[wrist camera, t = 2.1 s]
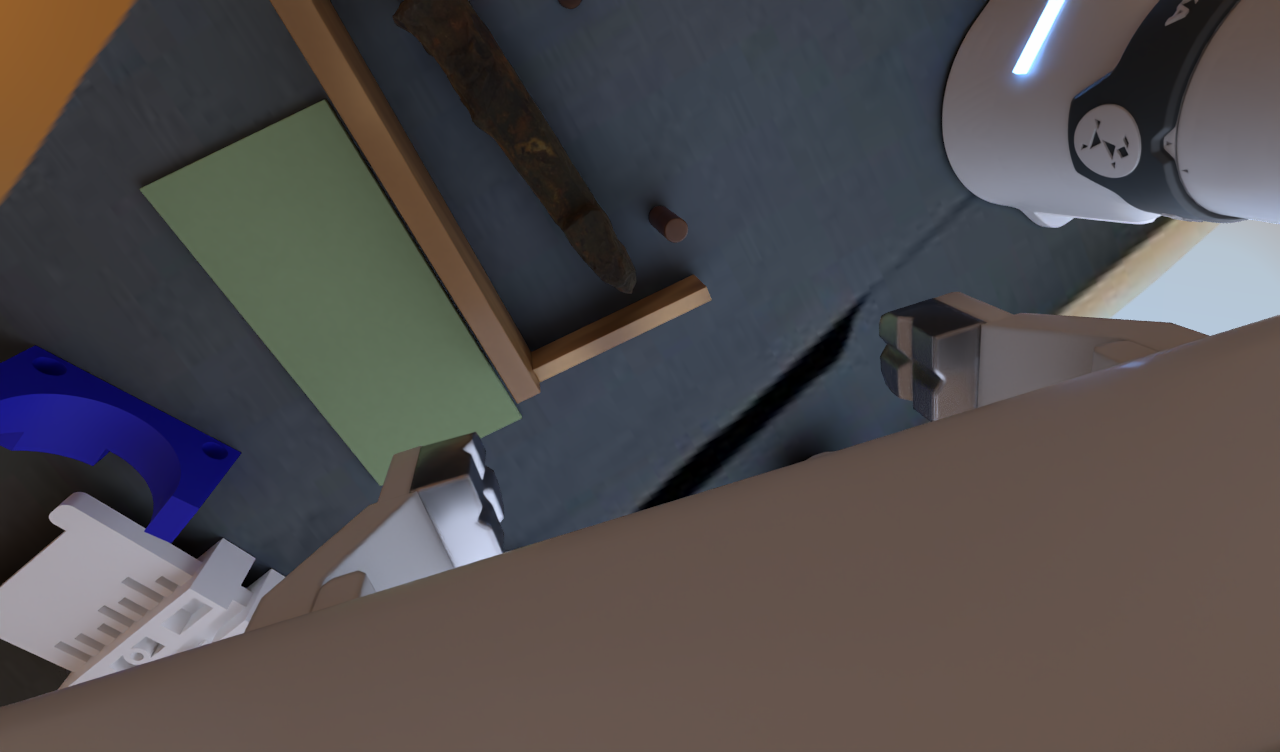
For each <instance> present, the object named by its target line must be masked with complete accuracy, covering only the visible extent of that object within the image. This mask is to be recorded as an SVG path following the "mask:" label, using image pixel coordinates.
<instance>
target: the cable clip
mask: <svg viewBox="0 0 1280 752" xmlns="http://www.w3.org/2000/svg"><path fill="white" fill-rule="evenodd" d="M0 446H3V447H5V448H7V449H9V450H11V451H12V450H20V451H38V452H46V453H52V454H57V455H62V456H66V457H70V458H73V459H76V460H79V461H82V462H84V463H87V464H89V465H92V466H94V465H95V464H96V463H97V462H98V461H99V460H101V459H102V458H103V457H104V456H105V455H106V454H107V453H108V452H109V451H111V452H112V453H114V454H116V455H118V456H119V457H121V458H122V459H124V460H125V461H126V462H128V463H129V464H130V465H132V466H133V467H134V468H135V469H136V470H137V471H138V472H139V473H140V474H141V476H142V477H143V478H144V479H145V481H146V482H147V484H148V486H149V488H150V490H151V493H152V496H153V501H154V510H153V515H152V518H151V521H150V523H149V525H148V526H147V528H146V529H145V531H144V532H146V533H148V534H151V535H153V536H155V537H157V538H160V539H162V540H164V541H167V542H169V543H172V542H173V541H174V539H175V538H176V537H177V536H178V534H179V533H180V532H181V531H182V529H183V528H184V527H185V526H186V524H187V523H188V522H189V521H190V520H191V518H192V517H193V516H194V515H195V513H196V512H197V511H198V510H199V508H200V507H201V506H202V504H203V503H204V502H205V500H206V499H207V498H208V497H209V495H210V494H211V493H212V491H213V490H214V489H215V487H216V486H217V485H218V483H219V482H220V481H221V479H222V478H223V477H224V475H225V474H226V473H227V472H228V470H229V469H230V468H231V466H232V465H233V464H234V462H235V461H236V460H237V458H238V457H239V456H240V454H241V452H239V451H237V450H235V449H233V448H231V447H229V446H227V445H225V444H224V443H222V442H220V441H218V440H216V439H214V438H212V437H210V436H208V435H206V434H204V433H202V432H201V431H199V430H197V429H195V428H193V427H191V426H189V425H187V424H185V423H183V422H181V421H179V420H178V419H176V418H174V417H172V416H170V415H168V414H166V413H164V412H162V411H160V410H158V409H156V408H155V407H153V406H151V405H149V404H147V403H145V402H143V401H141V400H139V399H137V398H135V397H133V396H132V395H130V394H128V393H126V392H124V391H122V390H120V389H118V388H116V387H114V386H112V385H110V384H109V383H107V382H105V381H103V380H101V379H99V378H97V377H95V376H93V375H91V374H89V373H87V372H86V371H84V370H82V369H80V368H78V367H76V366H74V365H72V364H70V363H68V362H66V361H64V360H63V359H61V358H59V357H57V356H55V355H53V354H51V353H49V352H47V351H45V350H43V349H42V348H40V347H38V346H36V345H35V346H33V347H31V348H29V349H27V350H25V351H23V352H21V353H19V354H18V355H16V356H14V357H12V358H10V359H8V360H6V361H4V362H2V363H0Z"/></svg>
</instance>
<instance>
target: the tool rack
mask: <svg viewBox="0 0 1280 752" xmlns="http://www.w3.org/2000/svg"><path fill="white" fill-rule="evenodd" d="M558 1H559V3H560V4H561V5H562V6H563V7H565V8H568V9H573V8H575V7H577V6H578V5H579V4H580V3H581V1H582V0H558ZM270 2H271V3H272V5H273V7H274V8H275V10H276V12H277V13H278V15H279V16H280V18H281V20H282V21H283V23H284V25H285V26H286V28H287V29H288V31H289V33H290V34H291V36H292V38H293V39H294V41H295V43H296V44H297V46H298V47H299V49H300V51H301V52H302V54H303V56H304V57H305V59H306V60H307V62H308V64H309V65H310V67H311V69H312V70H313V72H314V73H315V75H316V77H317V78H318V80H319V82H320V83H321V85H322V86H323V88H324V90H325V91H326V93H327V95H328V96H329V98H330V99H331V101H332V103H333V104H334V106H335V108H336V109H337V111H338V113H339V114H340V116H341V117H342V119H343V121H344V122H345V124H346V126H347V127H348V129H349V130H350V132H351V134H352V135H353V137H354V139H355V140H356V142H357V143H358V145H359V147H360V148H361V150H362V152H363V153H364V155H365V156H366V158H367V160H368V161H369V163H370V165H371V166H372V168H373V169H374V171H375V173H376V174H377V176H378V178H379V179H380V181H381V183H382V184H383V186H384V187H385V189H386V191H387V192H388V194H389V196H390V197H391V199H392V200H393V202H394V204H395V205H396V207H397V209H398V210H399V212H400V213H401V215H402V217H403V218H404V220H405V222H406V223H407V225H408V226H409V228H410V230H411V231H412V233H413V235H414V236H415V238H416V239H417V241H418V243H419V244H420V246H421V248H422V249H423V251H424V253H425V254H426V256H427V257H428V259H429V261H430V262H431V264H432V266H433V267H434V269H435V270H436V272H437V274H438V275H439V277H440V279H441V280H442V282H443V283H444V285H445V287H446V288H447V290H448V292H449V293H450V295H451V296H452V298H453V300H454V301H455V303H456V305H457V306H458V308H459V309H460V311H461V313H462V314H463V316H464V318H465V319H466V321H467V323H468V324H469V326H470V327H471V329H472V331H473V332H474V334H475V336H476V337H477V339H478V340H479V342H480V344H481V345H482V347H483V349H484V350H485V352H486V353H487V355H488V357H489V358H490V360H491V362H492V363H493V365H494V366H495V368H496V370H497V371H498V373H499V375H500V376H501V378H502V379H503V381H504V383H505V384H506V386H507V388H508V389H509V391H510V393H511V394H512V396H513V397H514V399H515V401H516V402H517V403H520V402H522V401H524V400H526V399H528V398H530V397H532V396H535V395H537V394H539V393H540V383H539V382H542V381H544V380H546V379H548V378H550V377H552V376H554V375H556V374H558V373H560V372H562V371H565V370H567V369H569V368H571V367H573V366H575V365H577V364H579V363H581V362H583V361H585V360H588V359H590V358H592V357H594V356H596V355H598V354H600V353H602V352H604V351H606V350H608V349H611V348H613V347H615V346H617V345H619V344H621V343H623V342H625V341H627V340H629V339H631V338H633V337H636V336H638V335H640V334H642V333H644V332H646V331H648V330H650V329H652V328H654V327H656V326H659V325H661V324H663V323H665V322H667V321H669V320H671V319H673V318H675V317H677V316H679V315H682V314H684V313H686V312H688V311H690V310H692V309H694V308H696V307H698V306H700V305H702V304H705V303H707V302H709V301H711V297H710V294H709V292H708V289H707V287H706V286H705V285H704V284H703V283H702V282H701V281H700V280H699V279H698V278H697V277H696V276H695V275H691V276H689V277H687V278H685V279H683V280H681V281H679V282H677V283H675V284H673V285H670V286H668V287H666V288H664V289H662V290H660V291H658V292H656V293H654V294H652V295H650V296H647V297H645V298H643V299H641V300H639V301H637V302H635V303H633V304H631V305H629V306H627V307H625V308H622V309H620V310H618V311H616V312H614V313H612V314H610V315H608V316H606V317H604V318H602V319H599V320H597V321H595V322H593V323H591V324H589V325H587V326H585V327H583V328H581V329H579V330H577V331H574V332H572V333H570V334H568V335H566V336H564V337H562V338H560V339H558V340H556V341H554V342H551V343H549V344H547V345H545V346H543V347H541V348H539V349H537V350H535V351H533V352H531V351H530V349H529V348H528V346H527V344H526V342H525V341H524V339H523V337H522V335H521V334H520V332H519V330H518V328H517V327H516V325H515V323H514V321H513V320H512V318H511V316H510V314H509V313H508V311H507V309H506V307H505V306H504V304H503V302H502V301H501V299H500V297H499V295H498V294H497V292H496V290H495V288H494V287H493V285H492V283H491V281H490V280H489V278H488V276H487V274H486V273H485V271H484V269H483V267H482V266H481V264H480V262H479V260H478V259H477V257H476V255H475V253H474V252H473V250H472V248H471V246H470V245H469V243H468V241H467V239H466V238H465V236H464V234H463V232H462V231H461V229H460V227H459V225H458V224H457V222H456V220H455V218H454V217H453V215H452V213H451V211H450V210H449V208H448V206H447V204H446V203H445V201H444V199H443V197H442V196H441V194H440V192H439V190H438V189H437V187H436V185H435V183H434V182H433V180H432V178H431V176H430V175H429V173H428V171H427V169H426V168H425V166H424V164H423V163H422V161H421V159H420V157H419V156H418V154H417V152H416V150H415V149H414V147H413V145H412V143H411V142H410V140H409V138H408V136H407V135H406V133H405V131H404V129H403V128H402V126H401V124H400V122H399V121H398V119H397V117H396V115H395V114H394V112H393V110H392V108H391V107H390V105H389V103H388V101H387V100H386V98H385V96H384V94H383V93H382V91H381V89H380V87H379V86H378V84H377V82H376V80H375V79H374V77H373V75H372V73H371V72H370V70H369V68H368V66H367V65H366V63H365V61H364V59H363V58H362V56H361V54H360V52H359V51H358V49H357V47H356V45H355V44H354V42H353V40H352V38H351V37H350V35H349V33H348V32H347V30H346V28H345V26H344V25H343V23H342V21H341V19H340V18H339V16H338V14H337V12H336V11H335V9H334V7H333V5H332V4H331V2H330V0H270ZM649 221H650V223H651V225H652V226H653V227H654V228H656V229H657V230H658V231H659V232H660V233H661V234H662V235H663V236H664V237H665V238H667V239H668V240H669V241H671V242H674V243H676V242H680V241H682V240H683V239H684V238H685V237H686V235H687V233H688V226H687V224H686V222H685V221H684V220H683V219H681V218H680V217H679V216H677V215H676V214H674V213H673V212H672V211H670V210H669V209H667V208H666V207H664V206H656V207H654V208H653V209H652V210H651V211H650V213H649Z"/></svg>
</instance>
